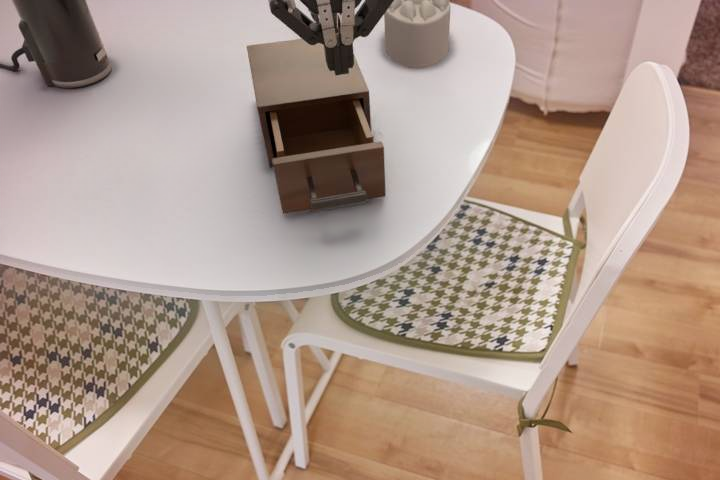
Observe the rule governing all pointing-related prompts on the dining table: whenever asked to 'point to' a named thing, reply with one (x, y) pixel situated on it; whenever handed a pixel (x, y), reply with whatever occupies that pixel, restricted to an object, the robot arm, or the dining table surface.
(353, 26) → the robot arm
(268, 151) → the cabinet
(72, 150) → the dining table surface
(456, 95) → the dining table surface
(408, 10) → the lumpy-topped squat cylinder
